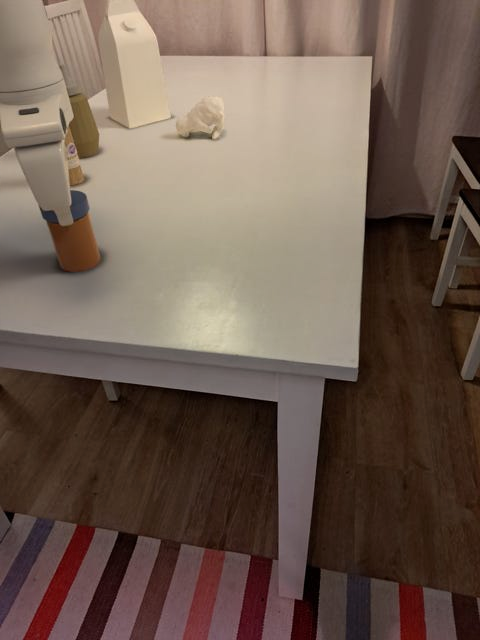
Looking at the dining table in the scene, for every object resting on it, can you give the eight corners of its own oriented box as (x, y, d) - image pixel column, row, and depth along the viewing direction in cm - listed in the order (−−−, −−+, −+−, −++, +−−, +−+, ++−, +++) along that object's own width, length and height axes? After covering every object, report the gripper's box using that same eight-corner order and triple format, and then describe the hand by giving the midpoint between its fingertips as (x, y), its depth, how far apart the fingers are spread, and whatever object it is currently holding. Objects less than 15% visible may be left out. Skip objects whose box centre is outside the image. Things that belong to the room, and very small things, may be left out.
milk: (150, 108, 129) (132, -6, 112) (171, 117, 121) (155, -3, 104) (110, 118, 124) (85, 0, 106) (129, 129, 116) (105, 4, 99)
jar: (52, 263, 71) (32, 206, 65) (83, 246, 75) (68, 191, 69) (76, 276, 68) (59, 217, 62) (108, 258, 72) (94, 201, 66)
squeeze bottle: (73, 147, 108) (49, 61, 97) (107, 146, 108) (87, 59, 96) (62, 161, 102) (34, 71, 91) (97, 160, 102) (75, 69, 90)
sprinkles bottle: (78, 187, 92) (58, 116, 83) (57, 185, 93) (35, 115, 84) (88, 177, 95) (70, 108, 86) (68, 176, 96) (48, 107, 87)
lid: (34, 223, 64) (30, 211, 63) (51, 201, 69) (47, 190, 68) (81, 222, 63) (78, 210, 62) (95, 201, 68) (92, 189, 67)
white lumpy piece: (222, 99, 102) (169, 107, 103) (228, 138, 108) (178, 145, 109) (223, 91, 107) (172, 99, 108) (228, 128, 112) (180, 136, 113)
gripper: (11, 90, 64) (43, 185, 73) (0, 138, 49) (42, 250, 58) (58, 84, 65) (84, 178, 74) (61, 129, 50) (94, 240, 59)
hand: (66, 210), depth 66 cm, fingers closed on lid, 6 cm apart
